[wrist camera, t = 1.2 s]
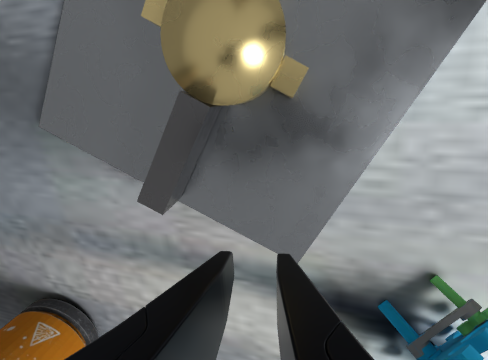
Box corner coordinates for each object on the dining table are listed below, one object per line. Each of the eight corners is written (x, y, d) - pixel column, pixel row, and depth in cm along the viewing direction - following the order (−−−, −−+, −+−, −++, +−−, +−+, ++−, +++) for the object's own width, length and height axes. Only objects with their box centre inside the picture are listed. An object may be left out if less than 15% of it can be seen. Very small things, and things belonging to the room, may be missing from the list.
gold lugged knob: (193, -76, 15) (170, -122, 12) (341, 5, 15) (357, -19, 12) (115, 162, 20) (85, 173, 17) (224, 220, 21) (214, 242, 17)
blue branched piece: (398, 396, 23) (385, 448, 15) (350, 331, 27) (320, 346, 19) (506, 323, 21) (553, 340, 13) (438, 263, 25) (444, 249, 17)
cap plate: (136, -274, 14) (80, -415, 10) (520, -60, 14) (607, -119, 10) (49, 125, 22) (0, 130, 18) (296, 256, 22) (299, 289, 18)
